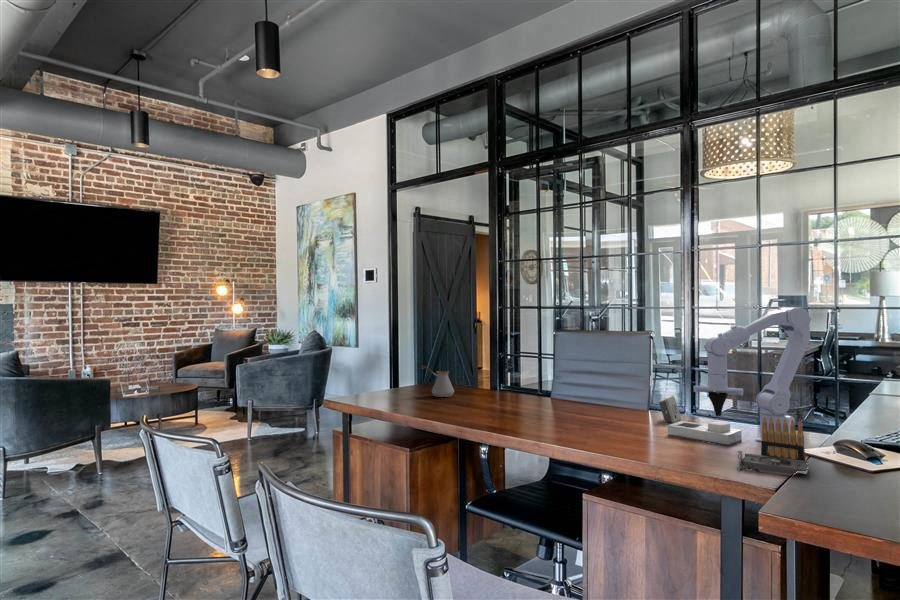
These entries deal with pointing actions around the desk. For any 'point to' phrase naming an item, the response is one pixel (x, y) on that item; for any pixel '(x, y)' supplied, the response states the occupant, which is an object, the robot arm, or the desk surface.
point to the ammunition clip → (782, 440)
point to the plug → (719, 427)
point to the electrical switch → (670, 410)
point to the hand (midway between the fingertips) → (718, 415)
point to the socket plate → (703, 433)
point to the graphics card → (771, 464)
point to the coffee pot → (441, 384)
